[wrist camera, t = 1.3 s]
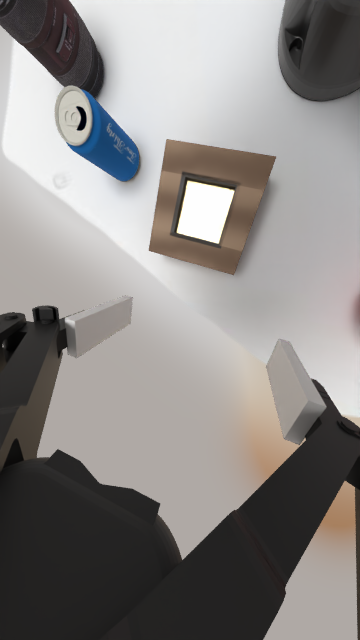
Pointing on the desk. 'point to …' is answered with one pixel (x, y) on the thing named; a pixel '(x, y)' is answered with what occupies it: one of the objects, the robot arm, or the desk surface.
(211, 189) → the gold metal plaque
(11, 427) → the robot arm
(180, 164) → the socket block
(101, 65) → the camera lens
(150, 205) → the desk surface
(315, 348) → the desk surface
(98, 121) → the beverage can
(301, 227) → the desk surface
